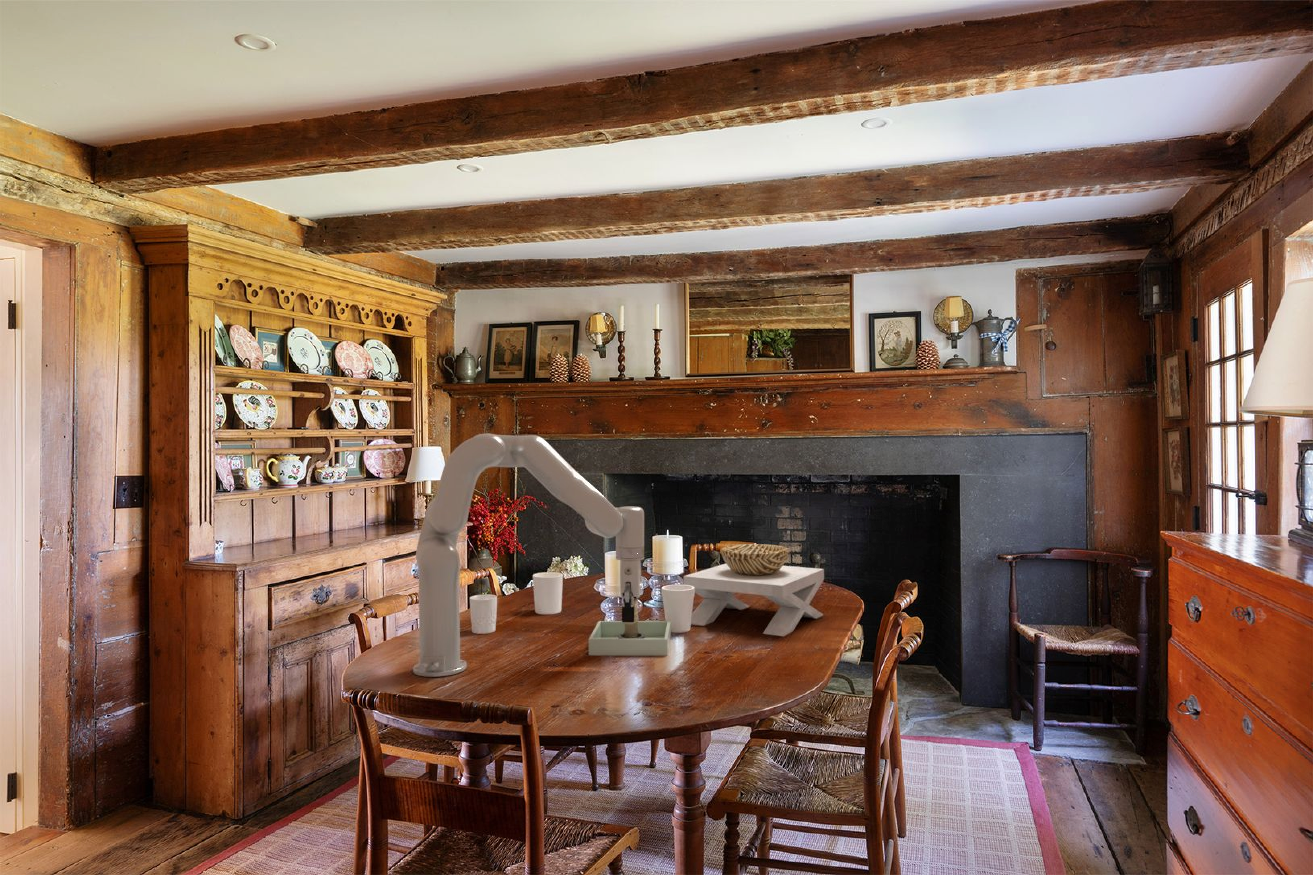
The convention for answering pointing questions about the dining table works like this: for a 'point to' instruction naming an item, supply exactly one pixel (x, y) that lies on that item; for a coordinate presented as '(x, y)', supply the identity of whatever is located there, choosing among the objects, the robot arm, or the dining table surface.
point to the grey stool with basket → (757, 585)
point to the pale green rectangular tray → (609, 644)
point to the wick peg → (632, 623)
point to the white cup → (483, 613)
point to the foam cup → (678, 606)
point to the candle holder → (548, 592)
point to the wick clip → (622, 636)
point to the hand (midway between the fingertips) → (629, 617)
